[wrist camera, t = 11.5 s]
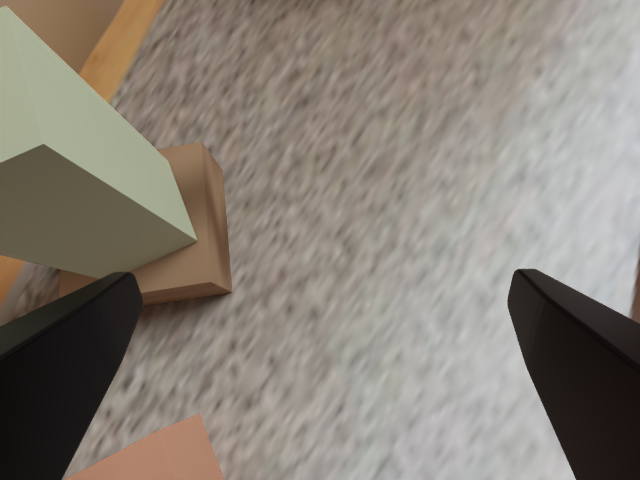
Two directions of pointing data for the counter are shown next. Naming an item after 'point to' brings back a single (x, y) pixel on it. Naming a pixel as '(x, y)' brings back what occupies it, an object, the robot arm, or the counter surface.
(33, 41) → the sage block
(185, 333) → the counter surface
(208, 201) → the walnut slab
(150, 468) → the terracotta cube
